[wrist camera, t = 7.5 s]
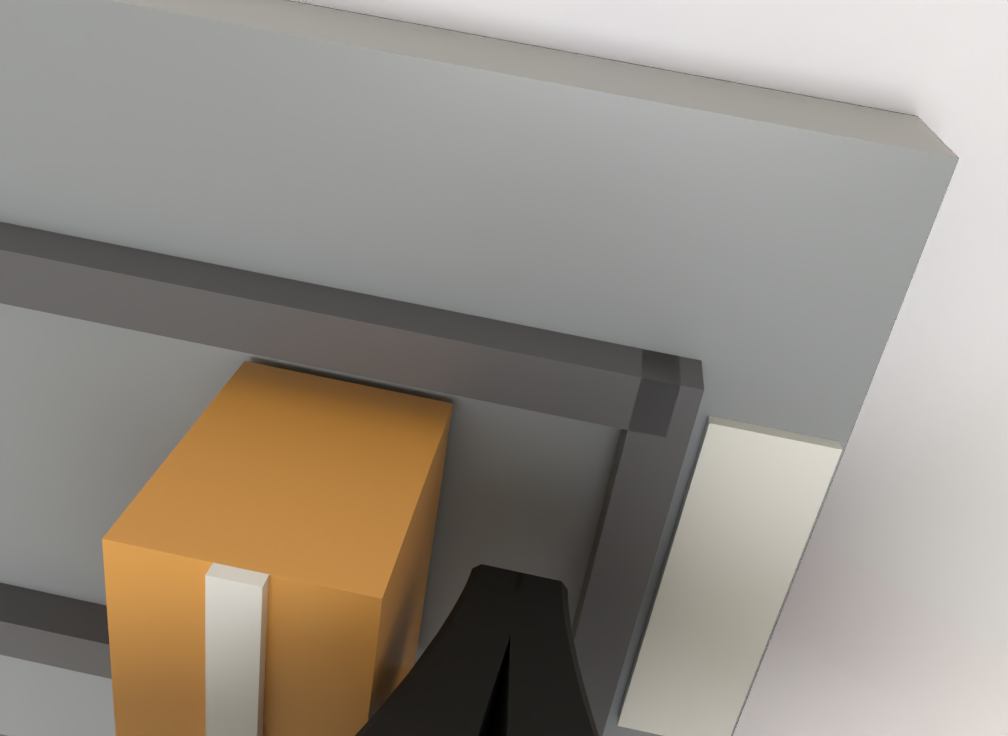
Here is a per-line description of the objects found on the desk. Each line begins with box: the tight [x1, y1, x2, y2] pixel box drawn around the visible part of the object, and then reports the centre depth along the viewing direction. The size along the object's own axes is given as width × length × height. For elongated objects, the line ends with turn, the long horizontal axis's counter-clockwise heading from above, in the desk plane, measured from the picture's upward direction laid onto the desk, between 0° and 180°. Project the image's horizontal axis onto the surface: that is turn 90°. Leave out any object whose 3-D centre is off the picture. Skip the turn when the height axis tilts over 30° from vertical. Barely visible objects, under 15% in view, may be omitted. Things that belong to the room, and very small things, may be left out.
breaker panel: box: [0, 0, 959, 736], centre depth 15 cm, size 18×14×3 cm
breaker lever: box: [102, 361, 453, 736], centre depth 13 cm, size 3×5×4 cm, turn 171°
